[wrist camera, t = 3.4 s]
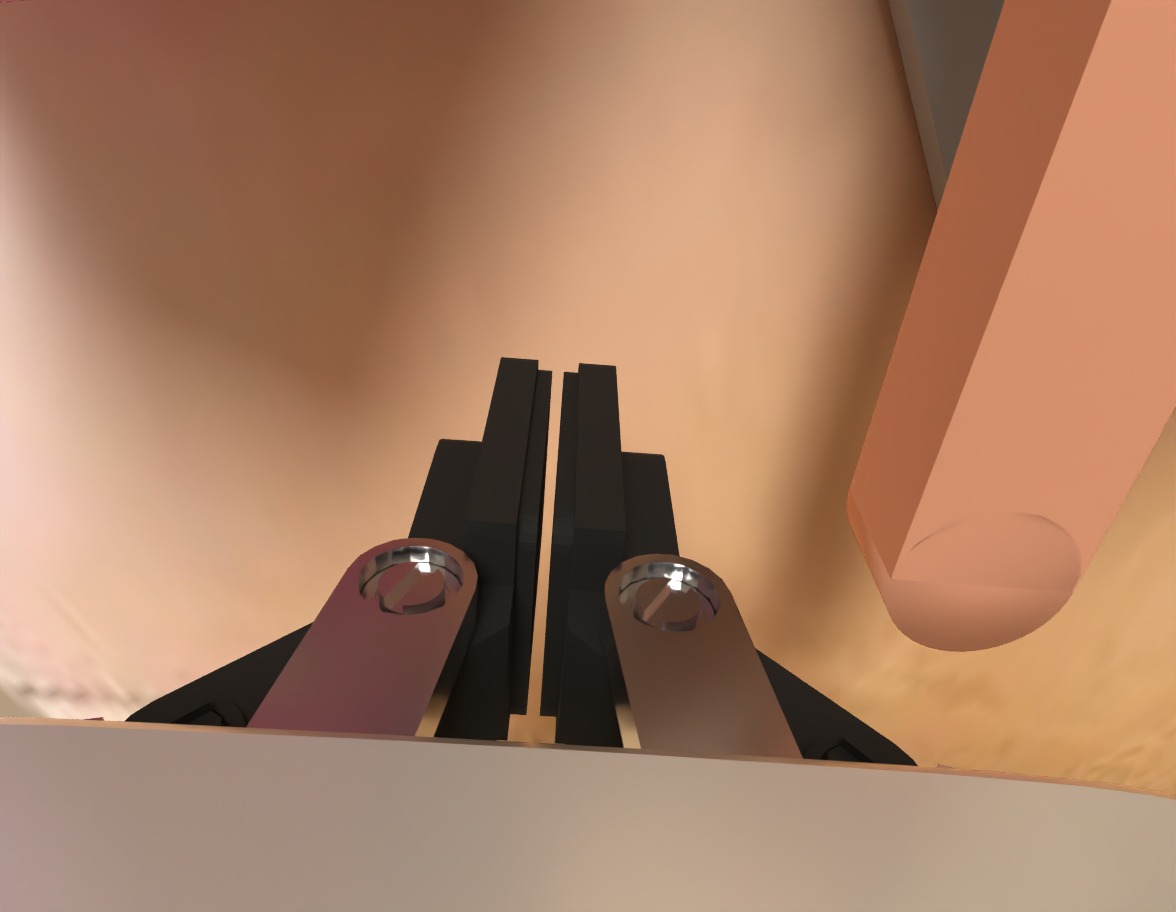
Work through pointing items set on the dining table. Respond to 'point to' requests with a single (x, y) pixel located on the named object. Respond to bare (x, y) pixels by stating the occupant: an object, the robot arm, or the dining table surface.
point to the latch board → (943, 70)
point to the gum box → (9, 0)
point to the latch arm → (1031, 330)
